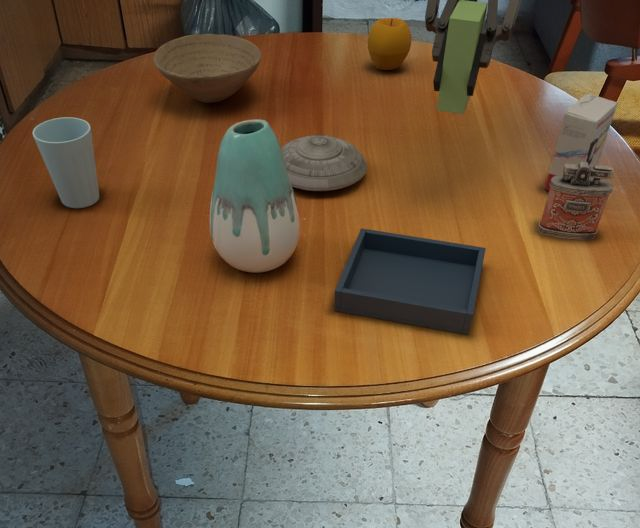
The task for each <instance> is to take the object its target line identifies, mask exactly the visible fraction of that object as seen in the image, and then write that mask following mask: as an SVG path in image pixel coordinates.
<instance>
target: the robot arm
mask: <svg viewBox="0 0 640 528" xmlns="http://www.w3.org/2000/svg"><path fill="white" fill-rule="evenodd" d="M458 1H459V0H446V2H445V4H444V7H443V10H442V11H441V14H440V17H438V13H439V8H440V4H441V3H440V2H441V0H427V2H426V8H425V15H424V21H425V30H426V31H427V32H433V33H434V34H435V36H434V40H433V44H432V49H431V58H432V59H431V60H432V62H437V64H436V68H435V72H434V77H433V81H432V84H433V91H434V92H439V89H440V83H441V76H442V68H443V61H444V54H445V47H446V40H447V33H448V26H449V19H450V17H451V15H452V13H453V11H454V9H455V7H456V5H457V3H458ZM522 1H523V0H509V1H508V4H507V8H506V11H505V15H504V18H503V21H502V24H497V23H498V9H499V8H498V7H499V0H487V3H488V4H487V10H486V31H485V33H483V32H482V33H480V35H479V39H478V43H477V47H476V52H475V56H474V60H473V65H472V69H471V71H470V76H469V80H468V84H467V96H470V97H473V96H474V93H475V89H476V86H477V85H476V84H477V80H478V77H479V72H480V68H481V69H488V67H489V66H490V63H491V59H492V55H493V50H494V46H495V44H496V43H497V42H499V41H502V42H503V41H504V42H508V41H509V40H510V39H511V37H512V34H513V31H514V27H515V25H516V20H517V17H518V15H519V11H520V7H521V4H522Z"/></svg>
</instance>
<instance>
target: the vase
mask: <svg viewBox="0 0 640 528" xmlns="http://www.w3.org/2000/svg"><path fill="white" fill-rule="evenodd" d="M219 144H220V145H219V148H218V153H217V159H216V169H215V176H214V181H213V182H214V183H213V187H212V191H211V196H210V197H211V199H210V206H209V233H210V238H211V241H212V243H213V246H214V248H215V250H216V252H217V254H218V255H219V256H220V258H222V260H224V262H226V263H227V264H228V265H229V266H231V267H232V268H234V269H236V270H239V271H242V272H247V273H255V274H256V273H258V274H259V273H266V272H269V271H273V270H275V269H277V268H280V267H282V266H283V265H284V264H285V263H286V262H288V261H289V259H290V258H291V257H292V255H293V254H294V253H295V251H296V249H297V246H298V244H299V240H300V235H301V219H300V212H299V206H298V202H297V198H296V195H295V192H294V187H292V185H291V183H290V180H289V177H288V174H287V170H286V166H285V162H284V158H283V154H282V151H281V148H282V147H281V145H280V142H279V139H278V137H277V134H276V132H275V131H274V129H273V128H272V126H271V125H270V123H269V122H268V121H266V120H264V119H260V118H257V119H246V120H241V121H239V122H236V123H234V124H233V125H231V126H230V127H229V128H227V129H226V131H225V132H224V135H223V136H222V138H221V141H220V143H219Z"/></svg>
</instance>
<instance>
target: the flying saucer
mask: <svg viewBox="0 0 640 528" xmlns="http://www.w3.org/2000/svg"><path fill="white" fill-rule="evenodd" d="M281 151H282V154H283V158H284V162H285V166H286V170H287V174H288V177H289V180H290V183H291V185H292V188H295V189H297V190H298V189H299V190H303V191H309V192H329V191H335V190H340V189H344V188H347V187H349V186H352V185H354V184H356V183H358V181H360V180H361V179H363V177H364V176H365V174H366V173H367V171H368V163H367V160H366V158H365V157H364V155H363V154H362V153H361V151H360V150H359V149H358V148H357V147H356V146H354V145H353V143H352V144H351V143H350V142H349V141H347V140H344V139H342V138H339V137H335V136H332V135H326V134H312V135H305V136H301V137H298V138H295V139H293V140H290V141H289V142H287V143H285V144H284V145H283V146H282V147H281Z"/></svg>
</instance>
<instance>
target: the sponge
mask: <svg viewBox="0 0 640 528" xmlns="http://www.w3.org/2000/svg"><path fill="white" fill-rule="evenodd" d="M487 10H488V2H483V1H475V0H459V1H458V3H457V5H456V7H455V9H454V11H453V13H452V15H451V17H450V19H449V26H448V33H447V40H446V47H445V54H444V61H443V68H442V76H441V83H440V89H439V91H438V97H437V104H436V111H438V112H445V113H451V114H459V115H464V114H465V112H466V109H467V107H468V104H469V101H470V98H471V96H467V84H468V80H469V76H470V71H471V69H472V65H473V60H474V56H475V52H476V47H477V43H478V39H479V35H480V33H483V32H484V25H485V21H486V16H487Z"/></svg>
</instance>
